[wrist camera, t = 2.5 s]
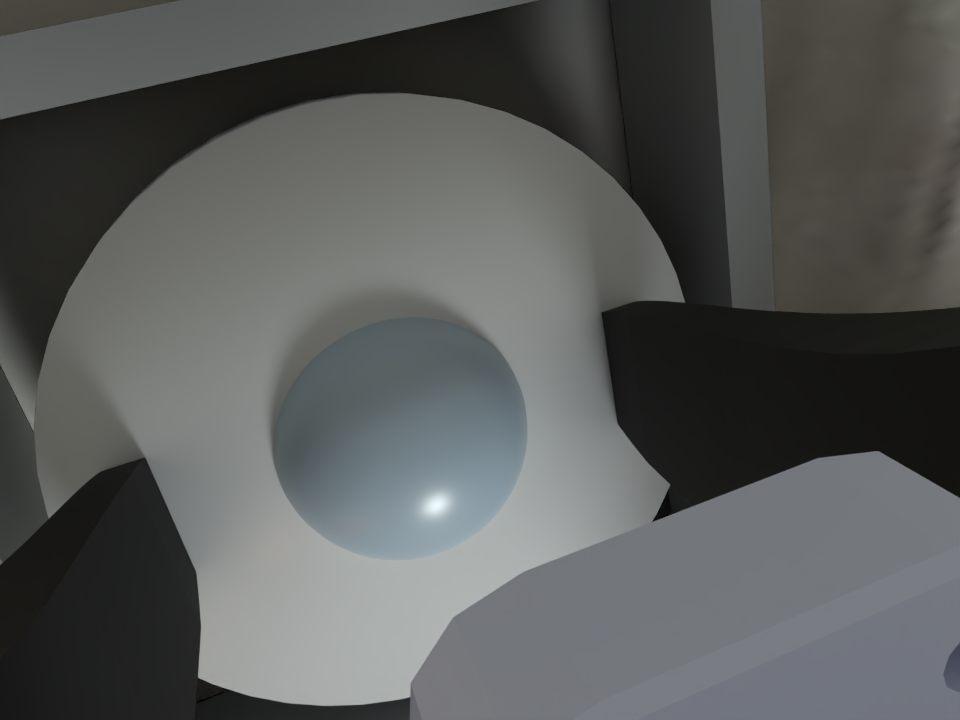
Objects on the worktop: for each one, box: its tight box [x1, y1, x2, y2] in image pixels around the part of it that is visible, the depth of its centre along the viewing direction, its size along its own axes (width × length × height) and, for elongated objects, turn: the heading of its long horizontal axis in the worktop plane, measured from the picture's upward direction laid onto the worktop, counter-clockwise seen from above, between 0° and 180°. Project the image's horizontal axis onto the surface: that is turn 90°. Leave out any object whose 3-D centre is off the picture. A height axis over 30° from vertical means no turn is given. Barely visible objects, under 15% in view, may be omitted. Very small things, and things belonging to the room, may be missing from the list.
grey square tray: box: [0, 0, 776, 720], centre depth 13 cm, size 13×13×3 cm
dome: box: [34, 92, 685, 706], centre depth 12 cm, size 10×10×4 cm
